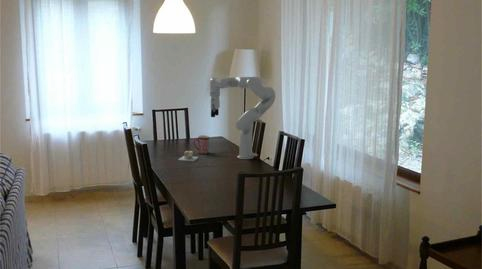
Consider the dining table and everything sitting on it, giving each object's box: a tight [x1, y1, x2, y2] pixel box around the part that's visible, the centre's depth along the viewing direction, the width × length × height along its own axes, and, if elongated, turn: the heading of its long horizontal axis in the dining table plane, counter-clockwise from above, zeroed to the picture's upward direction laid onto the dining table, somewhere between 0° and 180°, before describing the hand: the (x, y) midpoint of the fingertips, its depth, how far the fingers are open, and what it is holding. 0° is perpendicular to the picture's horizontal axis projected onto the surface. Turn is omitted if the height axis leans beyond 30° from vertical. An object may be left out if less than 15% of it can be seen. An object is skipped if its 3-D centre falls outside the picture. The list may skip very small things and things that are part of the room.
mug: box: [192, 135, 210, 155], centre depth 411 cm, size 13×9×14 cm
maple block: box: [183, 150, 194, 159], centre depth 391 cm, size 5×5×5 cm
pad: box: [177, 155, 199, 162], centre depth 391 cm, size 12×12×1 cm
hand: (214, 116), depth 403 cm, fingers open, 9 cm apart
